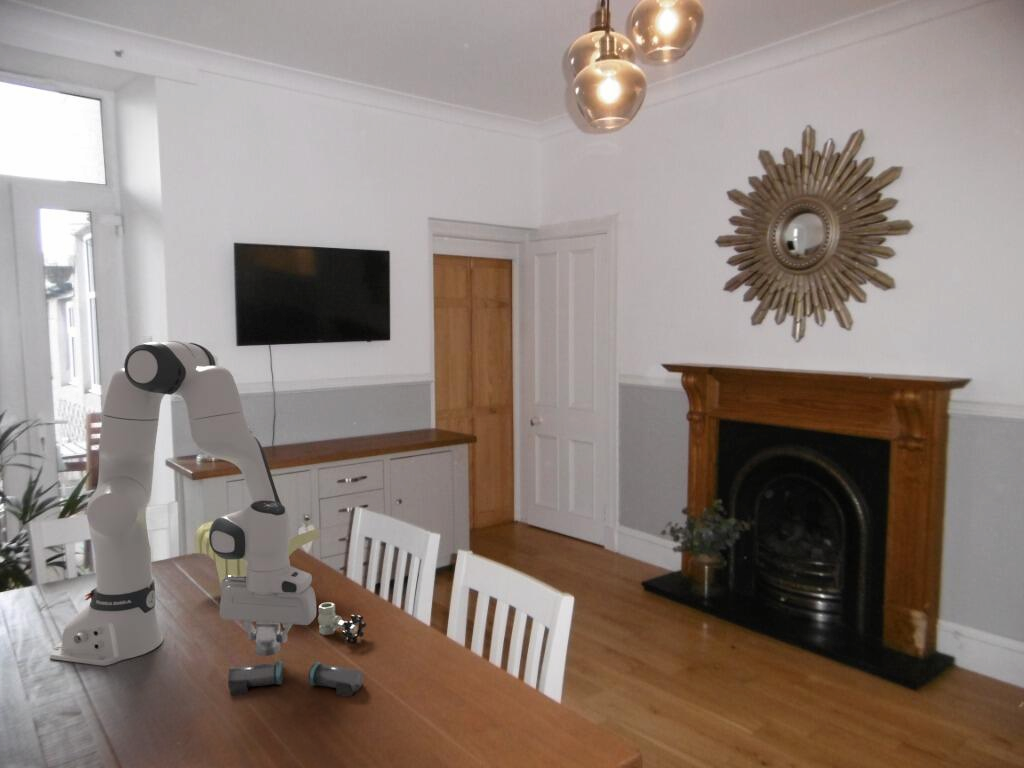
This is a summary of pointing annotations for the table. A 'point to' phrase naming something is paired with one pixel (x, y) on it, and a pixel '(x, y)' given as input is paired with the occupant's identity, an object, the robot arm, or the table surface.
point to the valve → (339, 623)
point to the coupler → (267, 638)
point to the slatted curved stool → (239, 565)
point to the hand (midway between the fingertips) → (268, 640)
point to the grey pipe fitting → (254, 676)
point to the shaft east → (336, 678)
